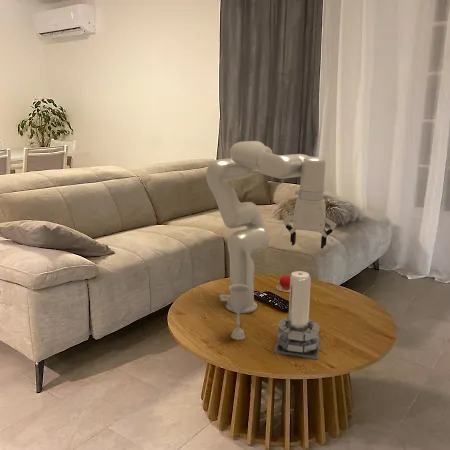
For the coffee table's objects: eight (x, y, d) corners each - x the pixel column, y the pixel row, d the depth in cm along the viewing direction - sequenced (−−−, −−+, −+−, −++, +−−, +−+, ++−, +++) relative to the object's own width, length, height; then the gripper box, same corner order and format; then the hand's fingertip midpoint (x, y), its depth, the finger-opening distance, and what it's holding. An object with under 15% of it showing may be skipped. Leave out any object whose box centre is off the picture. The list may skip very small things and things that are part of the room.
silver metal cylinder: (306, 350, 153) (310, 277, 147) (286, 348, 154) (289, 276, 148) (307, 340, 159) (311, 270, 153) (288, 339, 160) (291, 269, 154)
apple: (273, 286, 210) (274, 273, 208) (290, 285, 212) (291, 271, 210) (280, 293, 202) (280, 279, 201) (297, 291, 204) (298, 277, 203)
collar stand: (273, 353, 152) (274, 331, 150) (280, 335, 164) (281, 314, 162) (316, 360, 148) (318, 337, 146) (320, 341, 161) (322, 319, 159)
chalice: (241, 342, 159) (242, 293, 155) (224, 337, 163) (224, 288, 158) (251, 334, 165) (252, 286, 161) (235, 329, 169) (235, 282, 164)
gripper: (282, 195, 151) (279, 246, 156) (337, 199, 146) (332, 252, 150) (287, 191, 158) (284, 240, 163) (339, 195, 153) (335, 245, 157)
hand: (307, 245), depth 157 cm, fingers open, 9 cm apart
